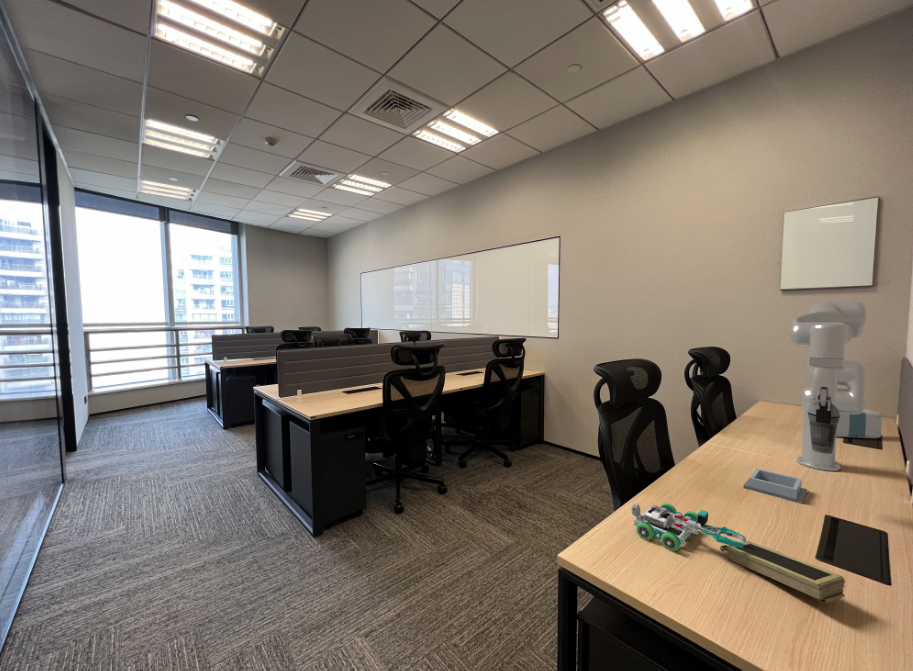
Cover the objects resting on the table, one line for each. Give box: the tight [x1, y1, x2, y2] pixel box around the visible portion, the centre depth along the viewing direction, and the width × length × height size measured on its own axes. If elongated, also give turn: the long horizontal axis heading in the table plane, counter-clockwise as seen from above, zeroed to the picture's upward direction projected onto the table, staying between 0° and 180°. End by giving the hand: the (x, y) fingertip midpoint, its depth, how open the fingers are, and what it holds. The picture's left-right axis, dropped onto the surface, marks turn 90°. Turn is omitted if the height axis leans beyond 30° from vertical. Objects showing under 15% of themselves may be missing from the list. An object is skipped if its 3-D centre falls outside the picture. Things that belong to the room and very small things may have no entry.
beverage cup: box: [807, 388, 840, 454], centre depth 114 cm, size 7×7×20 cm
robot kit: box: [631, 502, 747, 552], centre depth 98 cm, size 19×25×9 cm
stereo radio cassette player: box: [836, 395, 883, 440], centre depth 183 cm, size 21×8×20 cm, turn 80°
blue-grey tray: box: [743, 468, 808, 505], centre depth 126 cm, size 12×15×4 cm
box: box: [719, 540, 846, 604], centre depth 84 cm, size 8×22×5 cm, turn 19°
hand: (824, 420), depth 114 cm, fingers closed on beverage cup, 7 cm apart
